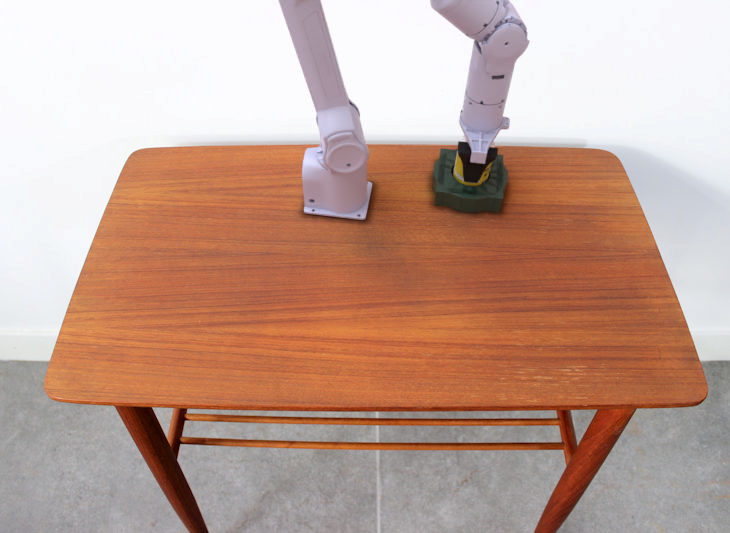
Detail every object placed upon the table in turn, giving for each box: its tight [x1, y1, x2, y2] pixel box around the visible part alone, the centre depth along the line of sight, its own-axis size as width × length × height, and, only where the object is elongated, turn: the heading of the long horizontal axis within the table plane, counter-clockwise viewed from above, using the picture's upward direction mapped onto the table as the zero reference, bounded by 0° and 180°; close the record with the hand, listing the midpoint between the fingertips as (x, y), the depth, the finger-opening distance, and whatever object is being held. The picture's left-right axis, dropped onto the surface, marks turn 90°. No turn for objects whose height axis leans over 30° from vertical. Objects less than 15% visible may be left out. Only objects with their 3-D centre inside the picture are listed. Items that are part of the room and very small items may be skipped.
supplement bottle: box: [453, 134, 496, 186], centre depth 90 cm, size 5×5×10 cm
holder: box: [431, 147, 509, 214], centre depth 94 cm, size 11×11×3 cm
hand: (471, 167), depth 92 cm, fingers closed on supplement bottle, 5 cm apart
